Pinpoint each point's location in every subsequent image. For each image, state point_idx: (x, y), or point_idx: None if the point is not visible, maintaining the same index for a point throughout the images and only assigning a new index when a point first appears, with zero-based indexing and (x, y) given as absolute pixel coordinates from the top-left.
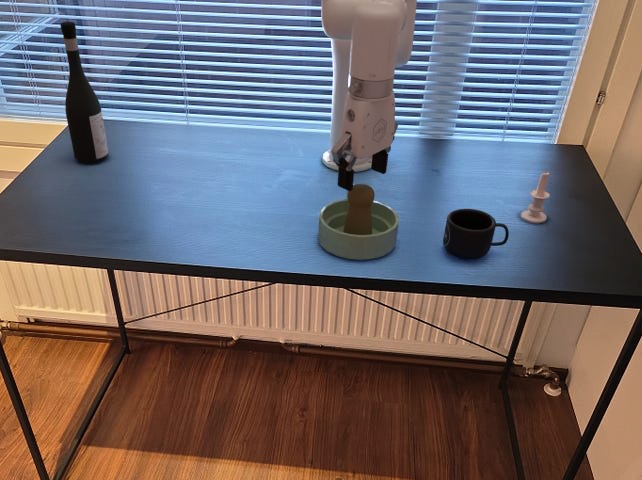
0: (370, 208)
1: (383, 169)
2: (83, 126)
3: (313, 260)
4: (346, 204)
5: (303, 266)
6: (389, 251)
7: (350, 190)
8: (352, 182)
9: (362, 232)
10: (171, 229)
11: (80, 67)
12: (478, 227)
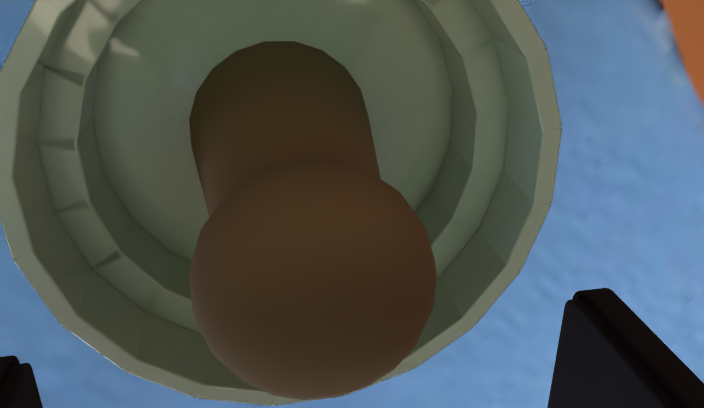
0: (267, 157)
1: (14, 400)
2: None
3: (574, 139)
4: (189, 360)
5: (644, 132)
6: None
7: (607, 290)
8: (644, 339)
9: (334, 88)
10: None
11: None
12: None
